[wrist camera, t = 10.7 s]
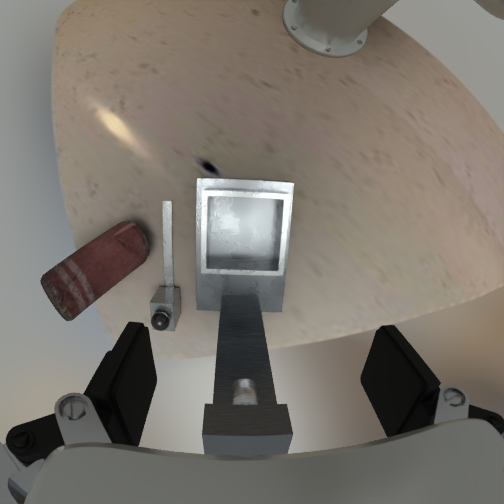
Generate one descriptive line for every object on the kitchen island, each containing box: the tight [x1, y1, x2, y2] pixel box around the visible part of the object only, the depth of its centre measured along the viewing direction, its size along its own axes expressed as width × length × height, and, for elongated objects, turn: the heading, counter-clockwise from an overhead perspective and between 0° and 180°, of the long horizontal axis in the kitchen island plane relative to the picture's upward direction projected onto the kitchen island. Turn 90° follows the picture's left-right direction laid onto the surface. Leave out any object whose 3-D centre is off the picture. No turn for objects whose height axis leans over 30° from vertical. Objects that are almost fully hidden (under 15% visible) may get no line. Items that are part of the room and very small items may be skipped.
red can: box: [41, 222, 150, 321], centre depth 30 cm, size 6×6×14 cm
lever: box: [150, 287, 181, 331], centre depth 35 cm, size 4×3×7 cm
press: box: [163, 178, 294, 456], centre depth 26 cm, size 19×17×25 cm
